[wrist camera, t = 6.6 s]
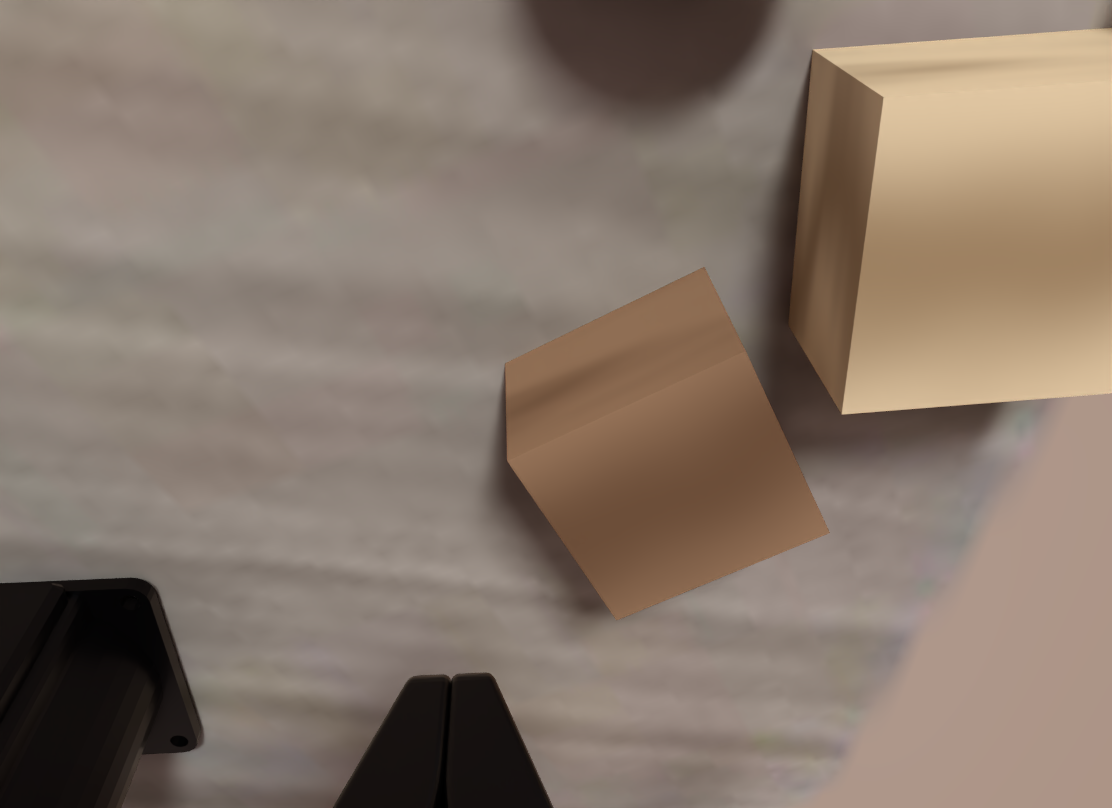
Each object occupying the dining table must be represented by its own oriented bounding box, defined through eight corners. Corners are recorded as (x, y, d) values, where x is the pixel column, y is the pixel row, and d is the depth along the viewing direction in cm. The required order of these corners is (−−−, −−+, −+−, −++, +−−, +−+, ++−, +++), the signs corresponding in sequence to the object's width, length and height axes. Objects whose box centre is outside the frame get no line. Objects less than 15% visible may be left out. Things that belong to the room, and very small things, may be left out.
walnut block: (779, 428, 22) (829, 532, 19) (598, 507, 23) (616, 620, 20) (702, 263, 20) (745, 350, 17) (505, 360, 21) (507, 460, 18)
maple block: (1042, 301, 21) (1147, 390, 18) (786, 321, 21) (841, 414, 17) (1112, 25, 18) (1256, 69, 14) (809, 47, 18) (883, 97, 14)
